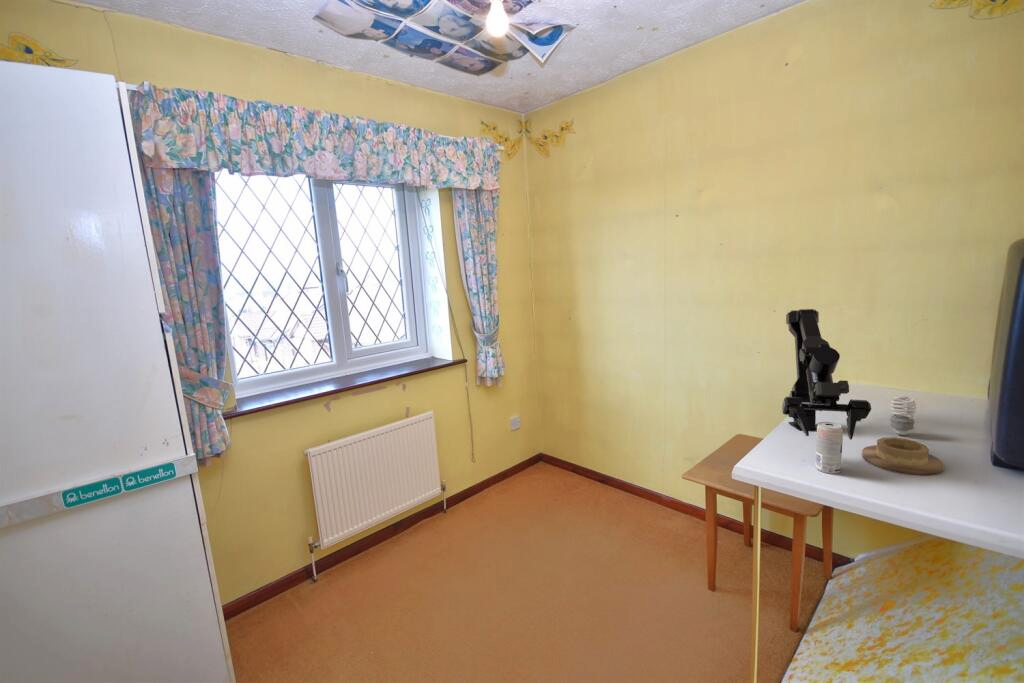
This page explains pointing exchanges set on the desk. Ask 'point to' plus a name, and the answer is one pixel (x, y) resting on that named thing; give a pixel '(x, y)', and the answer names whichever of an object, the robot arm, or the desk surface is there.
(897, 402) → the light bulb
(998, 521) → the desk surface
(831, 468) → the energy drink
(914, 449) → the can stand
